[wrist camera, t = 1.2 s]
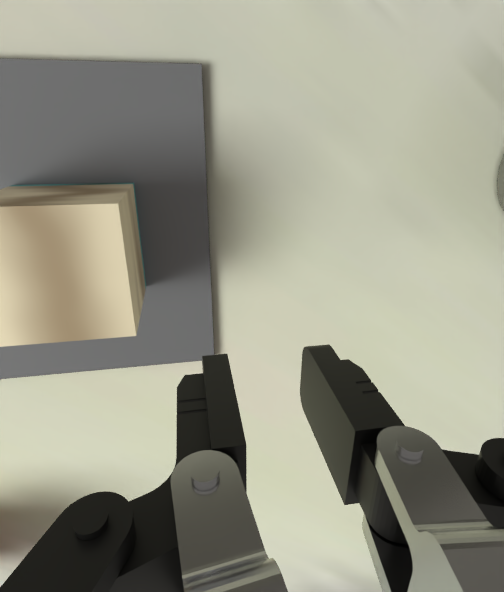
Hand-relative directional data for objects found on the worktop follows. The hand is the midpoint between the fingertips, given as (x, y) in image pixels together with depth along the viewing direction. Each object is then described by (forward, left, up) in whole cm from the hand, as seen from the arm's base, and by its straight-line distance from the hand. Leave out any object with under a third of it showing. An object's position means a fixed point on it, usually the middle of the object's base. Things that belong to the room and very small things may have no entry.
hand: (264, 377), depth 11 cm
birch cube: (+8, 0, -16) cm, 19 cm away
